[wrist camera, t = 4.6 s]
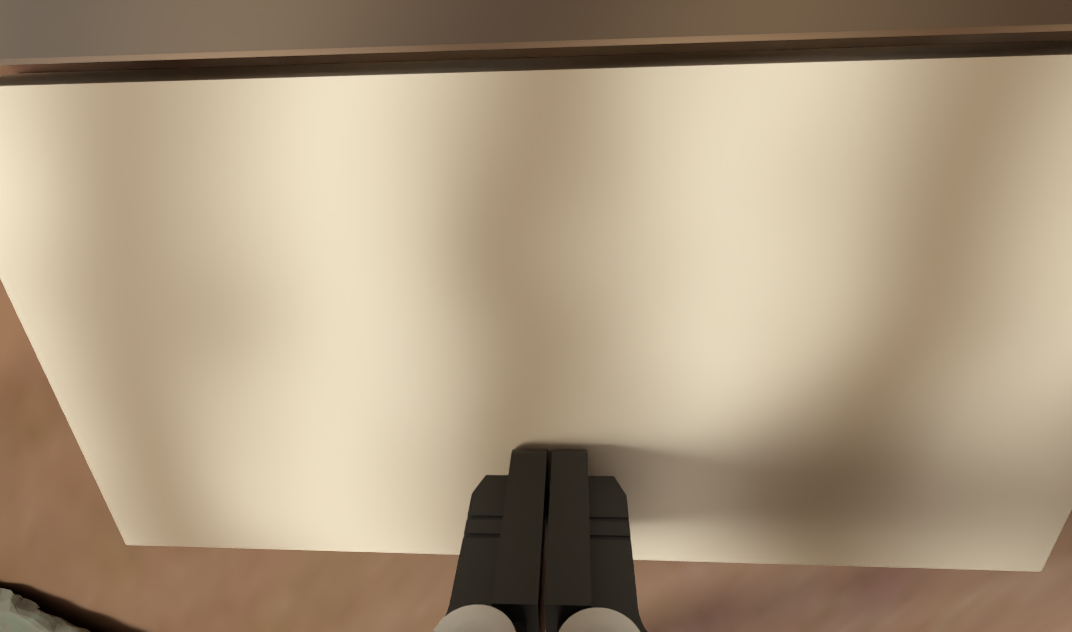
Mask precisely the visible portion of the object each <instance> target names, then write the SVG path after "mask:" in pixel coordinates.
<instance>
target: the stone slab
mask: <svg viewBox="0 0 1072 632" xmlns="http://www.w3.org/2000/svg"><path fill="white" fill-rule="evenodd" d="M37 607H38V608H37ZM0 632H90V631H89V630H88V629H84V628H80V627H77V626H75V625H73V624H71V623H69V622H67V621H65V620H64V619H62V618H60V617H57V616H53V615H50V614H47V613H44V612H43V611H41V610H40V609H39V606H38V605H37V604H36V603H35V602H33V601H31V600H29V599H25V598H22V596H20V595H18V596H17V594H16V595H15V594H13V592H12V591H11V590H8V589H3V588H0Z"/></svg>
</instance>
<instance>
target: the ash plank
mask: <svg viewBox="0 0 1072 632" xmlns="http://www.w3.org/2000/svg"><path fill="white" fill-rule="evenodd" d="M0 279H1V281H2V283H3V285H4V287H5V289H6V291H7V294H8V296H9V298H10V300H11V302H12V304H13V306H14V308H15V310H16V313H17V315H18V317H19V319H20V321H21V323H22V325H23V327H24V330H25V332H26V334H27V336H28V338H29V340H30V342H31V344H32V346H33V349H34V351H35V353H36V355H37V357H38V359H39V361H40V363H41V366H42V368H43V370H44V372H45V374H46V376H47V378H48V380H49V382H50V385H51V387H52V389H53V391H54V393H55V395H56V397H57V399H58V402H59V404H60V406H61V408H62V410H63V412H64V414H65V416H66V418H67V421H68V423H69V425H70V427H71V429H72V431H73V433H74V435H75V438H76V440H77V442H78V444H79V446H80V448H81V450H82V452H83V454H84V457H85V459H86V461H87V463H88V465H89V467H90V469H91V471H92V474H93V476H94V478H95V480H96V482H97V484H98V486H99V488H100V490H101V493H102V495H103V497H104V499H105V501H106V503H107V505H108V507H109V510H110V512H111V514H112V516H113V518H114V520H115V522H116V524H117V526H118V529H119V531H120V533H121V535H122V537H123V539H124V541H125V543H126V545H148V546H183V547H217V548H251V549H285V550H320V551H354V552H388V553H422V554H457V555H460V550H461V545H462V540H463V538H464V530H465V525H466V520H467V517H468V516H467V515H468V510H469V505H470V500H471V495H472V493H473V491H474V490H475V489H476V487H477V486H478V485H479V483H480V482H481V481H482V479H483V478H484V477H485V475H508V474H509V467H510V459H511V452H512V449H547V450H548V472H549V502H550V482H551V461H552V449H568V450H587V451H588V476H614V477H615V478H616V480H617V481H618V483H619V485H620V486H621V488H622V489H623V491H624V492H625V494H626V495H627V505H628V515H629V525H630V535H631V545H632V555H633V560H662V561H696V562H730V563H765V564H799V565H833V566H867V567H902V568H936V569H970V570H1004V571H1039V572H1041V571H1042V569H1043V567H1044V565H1045V563H1046V561H1047V559H1048V557H1049V555H1050V553H1051V550H1052V548H1053V546H1054V544H1055V542H1056V540H1057V538H1058V536H1059V534H1060V532H1061V530H1062V528H1063V526H1064V524H1065V522H1066V520H1067V518H1068V516H1069V514H1070V512H1071V510H1072V41H1048V42H1016V43H984V44H951V45H919V46H886V47H854V48H822V49H789V50H757V51H725V52H692V53H660V54H628V55H595V56H563V57H531V58H498V59H466V60H434V61H401V62H369V63H336V64H304V65H272V66H239V67H207V68H175V69H142V70H110V71H78V72H45V73H13V74H7V75H0Z"/></svg>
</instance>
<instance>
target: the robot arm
mask: <svg viewBox="0 0 1072 632" xmlns="http://www.w3.org/2000/svg"><path fill="white" fill-rule="evenodd" d="M467 516H468V517H467V520H466V525H465V530H464V538H463V540H462V545H461V550H460V555H459V560H458V565H457V570H456V575H455V580H454V585H453V590H452V595H451V600H450V604H449V608H448V611H447V613H446V615H445V617H444V618H443V619H442V620H441V621H440V622H439V623H438V625H437V626H436V627H435V629H434V631H433V632H545V628H546V632H647V631H646V629H645V628H644V626H643V624H642V622H641V619H640V616H639V612H638V605H637V595H636V585H635V575H634V565H633V555H632V545H631V535H630V525H629V515H628V505H627V495H626V494H625V492H624V491H623V489H622V488H621V486H620V485H619V483H618V481H617V480H616V478H615V477H614V476H588V451H587V450H568V449H552V461H551V482H550V502H549V472H548V450H547V449H512V452H511V459H510V467H509V474H508V475H485V477H484V478H483V479H482V481H481V482H480V483H479V485H478V486H477V487H476V489H475V490H474V491H473V493H472V495H471V500H470V505H469V510H468V515H467Z"/></svg>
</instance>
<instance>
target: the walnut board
mask: <svg viewBox="0 0 1072 632" xmlns="http://www.w3.org/2000/svg"><path fill="white" fill-rule="evenodd" d="M1050 31H1072V0H0V65H20V64H51V63H82V62H113V61H144V60H176V59H207V58H238V57H269V56H300V55H332V54H363V53H394V52H425V51H457V50H488V49H519V48H550V47H581V46H613V45H644V44H675V43H706V42H737V41H769V40H800V39H831V38H862V37H893V36H925V35H956V34H987V33H1018V32H1050Z"/></svg>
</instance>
